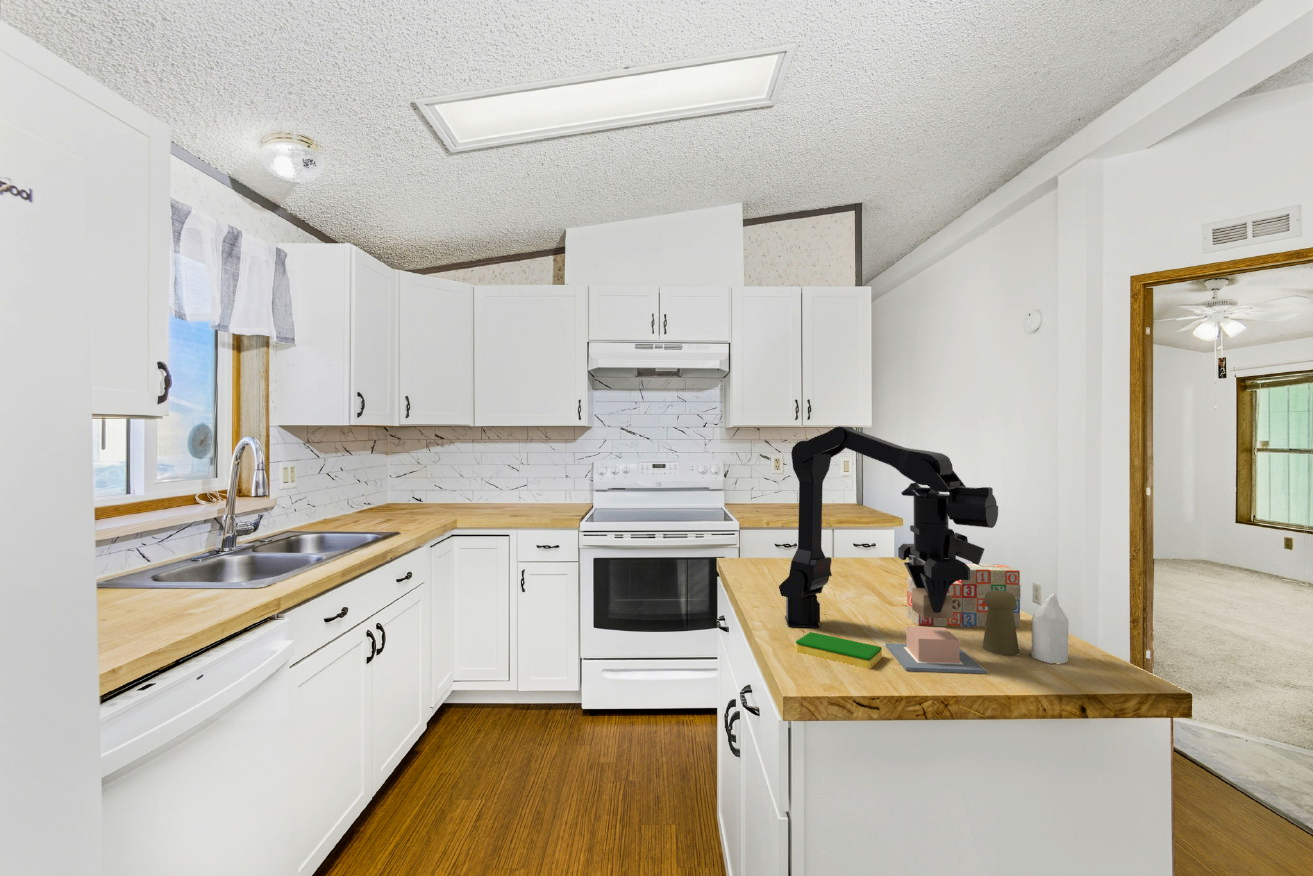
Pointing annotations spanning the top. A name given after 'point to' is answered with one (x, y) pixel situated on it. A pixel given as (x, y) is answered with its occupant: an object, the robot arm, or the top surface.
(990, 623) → the cork
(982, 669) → the slate mat
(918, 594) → the walnut cube
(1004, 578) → the stack of blocks
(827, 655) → the dish sponge
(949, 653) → the pink square block
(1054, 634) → the white pointed cylinder
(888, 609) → the top surface
